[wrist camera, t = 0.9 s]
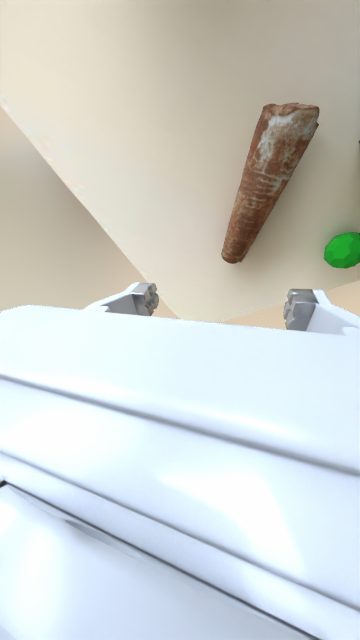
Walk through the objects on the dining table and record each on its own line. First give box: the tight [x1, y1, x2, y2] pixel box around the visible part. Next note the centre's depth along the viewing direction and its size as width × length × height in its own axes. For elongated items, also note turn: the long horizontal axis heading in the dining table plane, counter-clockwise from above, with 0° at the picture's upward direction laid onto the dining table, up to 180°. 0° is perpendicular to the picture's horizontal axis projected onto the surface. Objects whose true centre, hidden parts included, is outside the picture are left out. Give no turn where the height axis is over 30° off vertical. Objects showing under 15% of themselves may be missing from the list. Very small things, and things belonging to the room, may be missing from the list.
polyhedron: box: [324, 232, 360, 268], centre depth 27 cm, size 5×5×5 cm
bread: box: [221, 103, 319, 264], centre depth 26 cm, size 6×19×6 cm, turn 167°
